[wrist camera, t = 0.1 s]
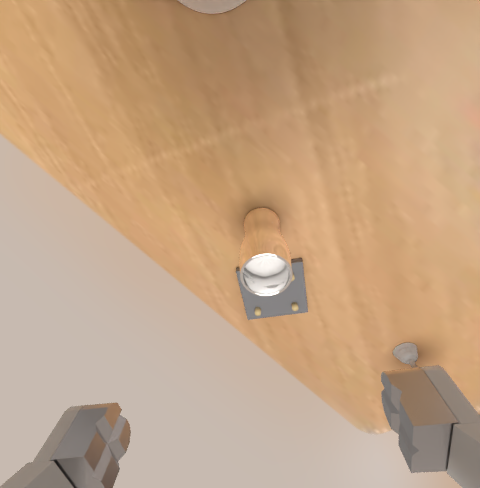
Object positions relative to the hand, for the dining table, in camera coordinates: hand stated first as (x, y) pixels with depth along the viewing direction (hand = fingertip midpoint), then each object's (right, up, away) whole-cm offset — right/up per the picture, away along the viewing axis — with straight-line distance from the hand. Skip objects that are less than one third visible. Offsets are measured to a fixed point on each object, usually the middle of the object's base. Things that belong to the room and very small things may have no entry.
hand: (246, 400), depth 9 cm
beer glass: (+3, +8, +40) cm, 41 cm away
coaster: (+6, -4, +47) cm, 47 cm away
